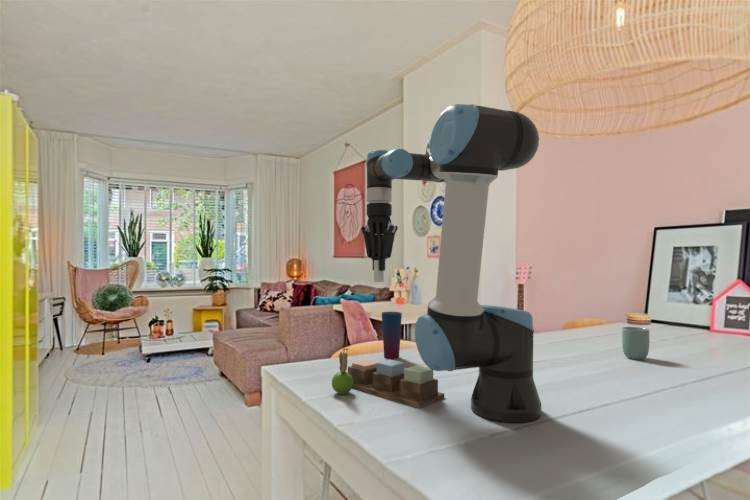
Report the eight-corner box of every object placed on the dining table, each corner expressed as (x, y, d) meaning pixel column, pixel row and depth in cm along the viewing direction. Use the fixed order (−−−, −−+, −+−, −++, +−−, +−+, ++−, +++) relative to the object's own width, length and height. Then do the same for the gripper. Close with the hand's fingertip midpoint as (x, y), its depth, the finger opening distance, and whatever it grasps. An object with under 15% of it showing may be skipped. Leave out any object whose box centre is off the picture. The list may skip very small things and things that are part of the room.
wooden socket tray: (444, 397, 109) (444, 378, 109) (419, 408, 102) (419, 387, 102) (367, 377, 127) (367, 360, 127) (341, 384, 120) (341, 367, 120)
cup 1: (379, 358, 149) (379, 313, 149) (384, 354, 156) (384, 311, 156) (398, 360, 147) (399, 314, 147) (403, 355, 154) (403, 311, 154)
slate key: (404, 374, 115) (404, 362, 115) (391, 378, 111) (391, 366, 111) (389, 370, 118) (389, 359, 118) (376, 374, 115) (376, 362, 115)
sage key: (433, 381, 109) (433, 368, 109) (420, 385, 105) (420, 372, 105) (416, 377, 112) (416, 365, 112) (404, 381, 108) (404, 369, 108)
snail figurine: (334, 399, 108) (334, 349, 108) (329, 391, 114) (330, 343, 115) (356, 397, 110) (356, 347, 110) (350, 389, 116) (350, 342, 116)
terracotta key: (378, 374, 121) (378, 362, 121) (365, 377, 117) (365, 366, 117) (365, 370, 124) (365, 359, 124) (352, 374, 121) (352, 363, 121)
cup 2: (617, 357, 153) (617, 327, 153) (632, 354, 156) (632, 326, 157) (639, 362, 146) (638, 331, 146) (654, 359, 149) (654, 329, 149)
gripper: (403, 202, 133) (403, 282, 133) (371, 205, 142) (371, 280, 142) (387, 200, 128) (386, 283, 128) (354, 203, 137) (354, 281, 137)
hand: (378, 281), depth 135 cm, fingers closed
